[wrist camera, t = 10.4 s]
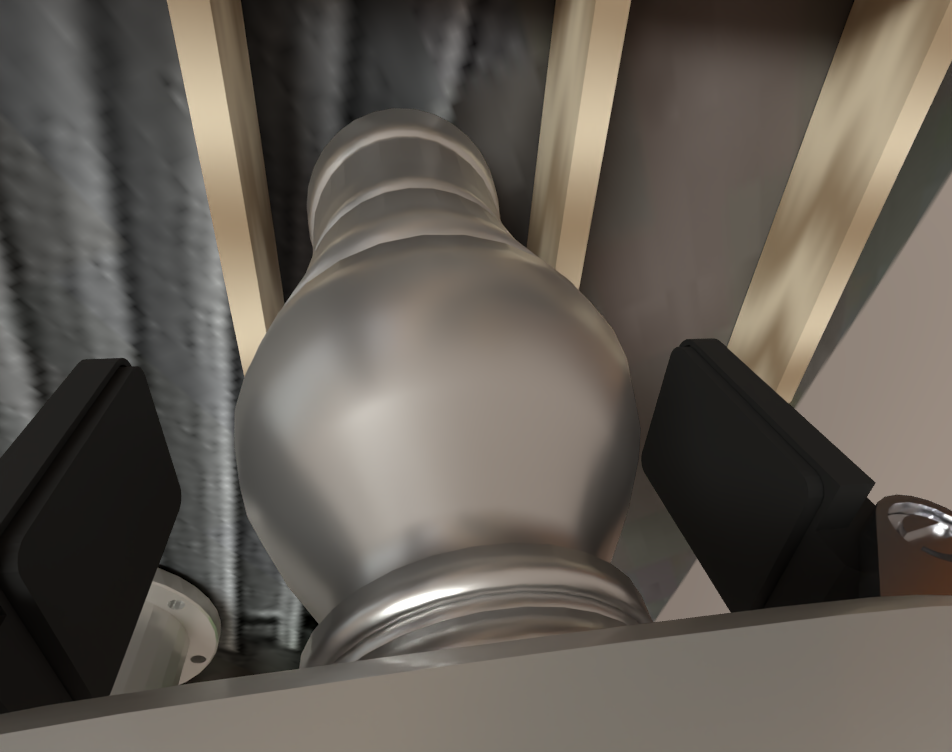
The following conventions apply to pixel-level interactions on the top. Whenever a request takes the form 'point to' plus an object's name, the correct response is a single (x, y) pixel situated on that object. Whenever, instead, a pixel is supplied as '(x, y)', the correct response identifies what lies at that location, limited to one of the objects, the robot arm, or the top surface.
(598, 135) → the divider rack
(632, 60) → the top surface
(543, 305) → the plastic bottle
